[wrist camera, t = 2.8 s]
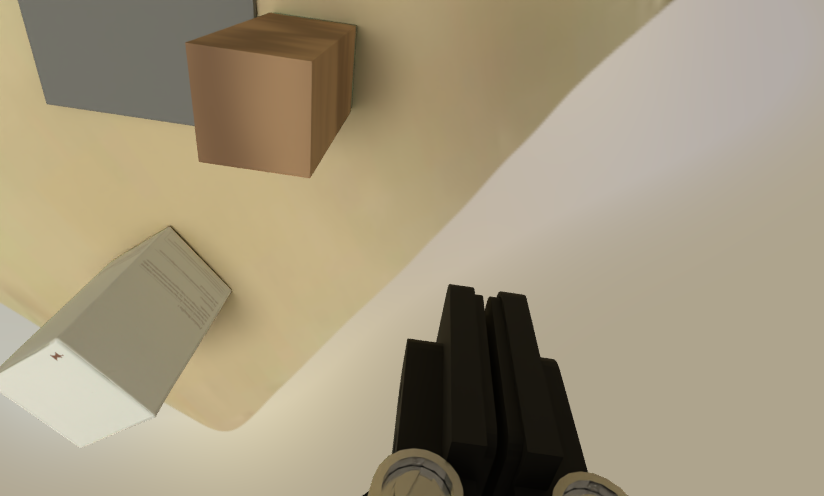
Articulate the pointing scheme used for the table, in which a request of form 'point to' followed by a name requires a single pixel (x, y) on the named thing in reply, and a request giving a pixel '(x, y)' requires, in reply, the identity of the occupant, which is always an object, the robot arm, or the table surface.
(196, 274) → the supplement box
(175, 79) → the mat
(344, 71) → the walnut block
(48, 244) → the table surface
